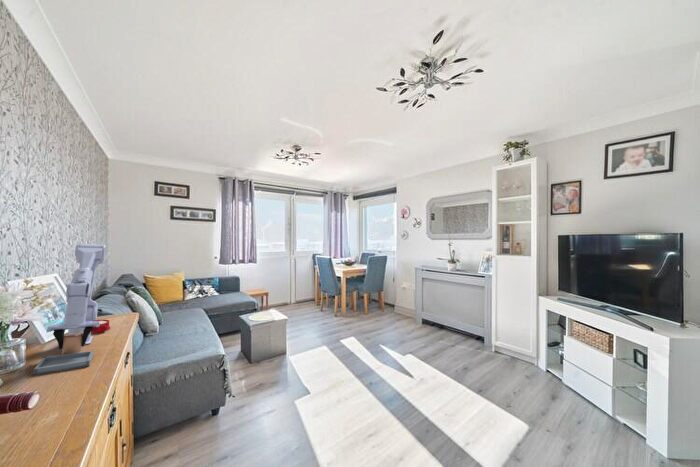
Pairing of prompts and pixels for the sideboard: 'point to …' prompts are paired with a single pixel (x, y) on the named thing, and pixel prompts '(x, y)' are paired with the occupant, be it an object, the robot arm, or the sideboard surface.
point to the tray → (63, 362)
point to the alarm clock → (101, 326)
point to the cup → (72, 343)
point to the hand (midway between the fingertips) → (72, 347)
